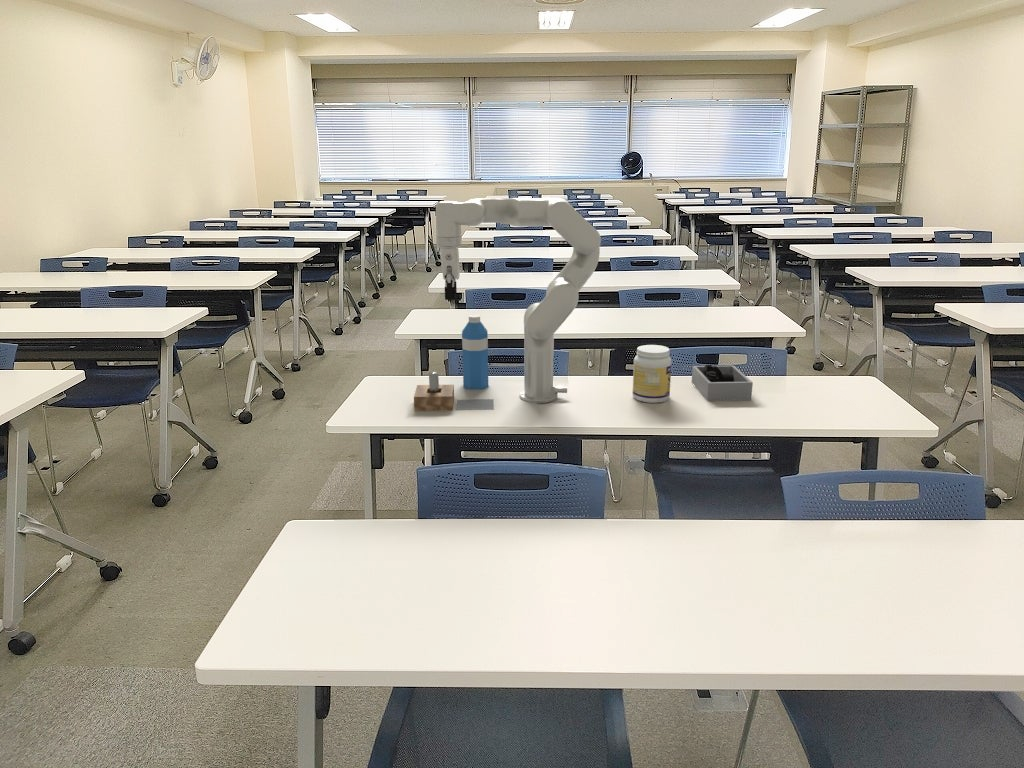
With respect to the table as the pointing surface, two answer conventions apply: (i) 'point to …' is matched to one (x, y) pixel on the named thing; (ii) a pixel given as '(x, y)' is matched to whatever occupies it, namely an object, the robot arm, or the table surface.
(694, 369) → the tray
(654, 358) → the supplement tub
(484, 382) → the water bottle
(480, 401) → the mat
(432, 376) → the peg
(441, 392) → the socket block
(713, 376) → the film camera
